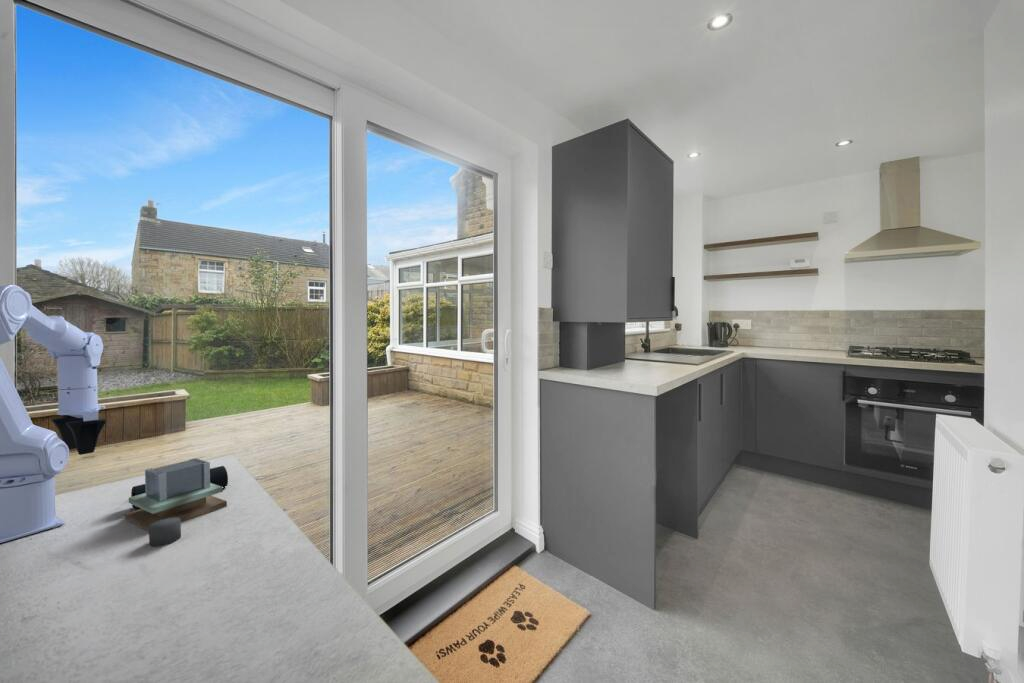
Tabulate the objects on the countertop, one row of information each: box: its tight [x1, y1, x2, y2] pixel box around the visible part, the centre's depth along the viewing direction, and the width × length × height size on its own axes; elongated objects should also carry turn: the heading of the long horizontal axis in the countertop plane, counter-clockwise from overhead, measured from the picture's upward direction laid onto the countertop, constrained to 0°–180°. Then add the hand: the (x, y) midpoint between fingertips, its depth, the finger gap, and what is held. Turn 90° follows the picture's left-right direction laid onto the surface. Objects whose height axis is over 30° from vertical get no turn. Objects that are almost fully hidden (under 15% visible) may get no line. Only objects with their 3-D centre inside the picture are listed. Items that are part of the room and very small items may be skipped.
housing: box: [144, 458, 211, 502], centre depth 77 cm, size 8×6×5 cm
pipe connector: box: [130, 465, 229, 511], centre depth 86 cm, size 12×5×15 cm
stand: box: [124, 483, 228, 532], centre depth 77 cm, size 12×11×4 cm
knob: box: [148, 518, 182, 548], centre depth 66 cm, size 4×4×3 cm
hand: (79, 451), depth 84 cm, fingers open, 7 cm apart
